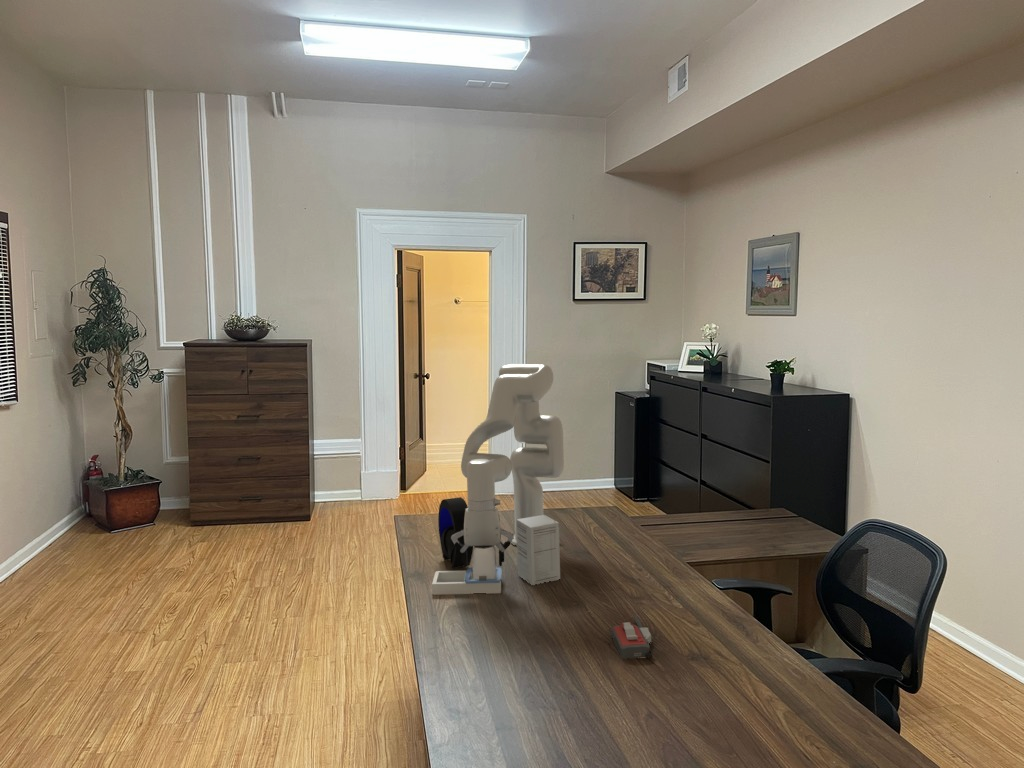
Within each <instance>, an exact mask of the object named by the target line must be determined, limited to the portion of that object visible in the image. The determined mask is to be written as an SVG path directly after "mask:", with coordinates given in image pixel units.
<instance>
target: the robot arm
mask: <svg viewBox="0 0 1024 768" xmlns="http://www.w3.org/2000/svg"><path fill="white" fill-rule="evenodd" d="M553 372H554V371H553V370H552V368H551V366H549V365H548V364H541V363H538V364H537V363H532V364H531V363H530V364H529V363H510V364H505V365H502V366H501V367H500V368H499V370H498V376H497V377H496V379H495V380H494V383H493V388H492V391H491V395H490V401H489V405H488V409H487V416H486V418H485V419H484V421H482V422H481V423H480V424H479V425H477V427H476V428H475V429H473V431H472V432H471V434H470V435H469V436H468V438H467V439H466V441H465V444H464V448H463V452H462V455H461V456H462V457H461V463H460V470H461V471H460V472H461V474H462V476H463V477H465V478H466V485H467V487H466V489H467V490H466V491H467V506H468V508H466V510H465V517H464V529H463V530H461V531H459V532H457V533H455V534H454V535H452V536H451V539H452V541H453V543H454V544H455V547H457V548H458V549H459V550H460V552H461V553H462V563H464V566H463V567H464V568H466V567H467V563H468V561H467V550H466V549H467V548H468V547H469V546H473V547H474V546H494V547H495V546H496V548H498V566H500V567H502V566H503V563H505V551H506V550H507V548H509V547H510V545H511V544H512V545H513V546H515V545H516V547H517V524H516V520H517V519H522V518H528V517H534V516H540V515H544V491H543V490H544V489H543V487H542V484H541V482H540V481H539V479H538V478H545V479H546V478H548V479H550V478H551V479H555V478H560V477H561V476H562V474H563V471H564V468H565V465H564V464H565V454H564V453H565V452H564V450H565V449H564V427H563V424H562V420H560V418H559V417H558V416H556V415H552V414H541V413H540V400H541V399H542V398H543V397H544V396H545V395H546V394H547V393H548V392H549V391H550V389H551V388H552V385H553V382H554V373H553ZM511 429H513V434H514V435H513V436H514V439H515V440H516V442H518V443H520V444H527V445H545V446H546V447H535V446H532V447H531V446H522V447H521V446H520V447H517V448H516V449H514V450H513V451H512V452H511V454H510V458H509V457H508V456H507V455H505V454H499V453H485V452H484V453H483V452H479V450H480V448H481V447H482V446H483V444H484V443H486V442H487V441H488V440H490V439H492V438H494V437H497V436H500V435H501V434H504V433H506V432H508V431H511ZM511 474H512V481H513V503H514V504H513V505H514V507H513V508H514V533H512V532H510V531H507V530H505V529H504V528H501V519H500V518H501V517H500V511H499V508H498V507H497V506H499V505H501V499H497V498H496V491H495V490H496V489H495V488H496V487H495V483H498V482H503V481H505V480H507V479H508V478H509V476H510V475H511ZM463 535H464V544H463V545H462V544H461V543H460V542H459V541H458V539H457V538H459V537H461V536H463ZM502 536H503V537H506V538H507V539H506V540H505V542H502V541H501V538H502Z"/></svg>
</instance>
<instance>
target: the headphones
mask: <svg viewBox="0 0 1024 768" xmlns="http://www.w3.org/2000/svg"><path fill="white" fill-rule="evenodd" d="M466 508H468V503H467V502H466V500H465V499H464V498H463V497H454V498H453V497H452V498H446V499H445V498H444V499H442V500H441V501H440V503H439V506H438V516H437V518H438V519H437V520H438V521H437V523H438V535H439V541H440V548H441V554H442V558H443V559H444V561H448V560H449V561H450V562H451V569H455V568H461V567H464V563H462V553H461V552H460V550H459V549H458V548H457V547H455V544H454V543H453V541H452V539H451V536H452V535H454V534H455V533H457V532H459V531H461V530H463V529H464V517H465V510H466ZM457 539H458V541H459V542H460V543H461V544H462V545H463V544H464V535H463V536H461V537H459V538H457ZM473 548H474V546H469V547H468V548H467V549H466V550H467V561H468V563H467V566H468V567H469V566H471V562H472V559H473ZM467 566H466V567H467Z"/></svg>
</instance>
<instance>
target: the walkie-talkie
mask: <svg viewBox="0 0 1024 768" xmlns="http://www.w3.org/2000/svg"><path fill="white" fill-rule="evenodd" d="M633 620H634V622H635V623H636V624H632V622H631V621H630V622H629V621H628V622H627V621H626V622H621V624H620V625H614V626H612V627H611V628H610V630H611V631H610V636H611V639H612V638H613V639H612V641H613V644H614V643H615V644H614V645H616V646H615V647H617V648H616V650H617V649H618V650H617V652H618V654H620V655H619V657H620V656H621V657H620V659H622V658H624V659H623V660H628V659H627V658H638V657H639V658H640V657H648V658H647V659H650V658H653V654H654V653H653V651H652V649H651V646H650V645H649V643H650V642H651V643H652V633H651V632H650V630H649V628H648V627H644V626H643V624H642V622H641V621H640V619H639V617H638V616H637V615H634V616H633ZM651 643H650V644H651ZM640 659H641V658H640Z"/></svg>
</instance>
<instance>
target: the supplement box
mask: <svg viewBox="0 0 1024 768" xmlns="http://www.w3.org/2000/svg"><path fill="white" fill-rule="evenodd" d="M516 524H517V546H516V551H517V554H516V555H517V570H518V571H517V576H519V577H520V578H521V579H522V578H523V579H522V580H524V581H525V580H526V581H527V583H528V584H529V583H530V584H531V585H530V584H529V585H530V586H532V585H533V586H536V585H535V584H537V585H540V583H541V584H545V583H544V582H546V583H550V582H549V581H551V582H555V581H559V579H560V580H561V559H560V558H561V556H560V555H561V551H560V525H559V524H560V522H558V521H557V520H555V519H553V518H551V517H549V516H547V515H546V514H543V515H540V516H534V517H528V518H522V519H517V520H516ZM526 581H525V582H526Z"/></svg>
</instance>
